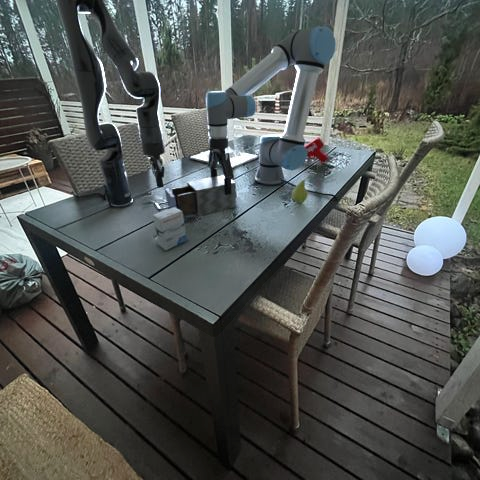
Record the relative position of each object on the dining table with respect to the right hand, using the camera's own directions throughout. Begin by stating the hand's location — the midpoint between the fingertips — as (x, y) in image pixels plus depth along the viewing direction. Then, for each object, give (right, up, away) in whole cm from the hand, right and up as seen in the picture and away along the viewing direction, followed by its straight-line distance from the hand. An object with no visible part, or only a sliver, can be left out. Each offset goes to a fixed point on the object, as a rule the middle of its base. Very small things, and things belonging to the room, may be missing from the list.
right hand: (221, 188), depth 116 cm
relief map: (-2, +32, +64) cm, 71 cm away
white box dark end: (-4, -7, +2) cm, 9 cm away
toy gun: (+52, +27, +55) cm, 81 cm away
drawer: (-15, -10, -3) cm, 19 cm away
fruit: (+35, -5, +5) cm, 36 cm away
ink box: (-15, -23, -22) cm, 36 cm away
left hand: (-22, -2, -13) cm, 26 cm away
